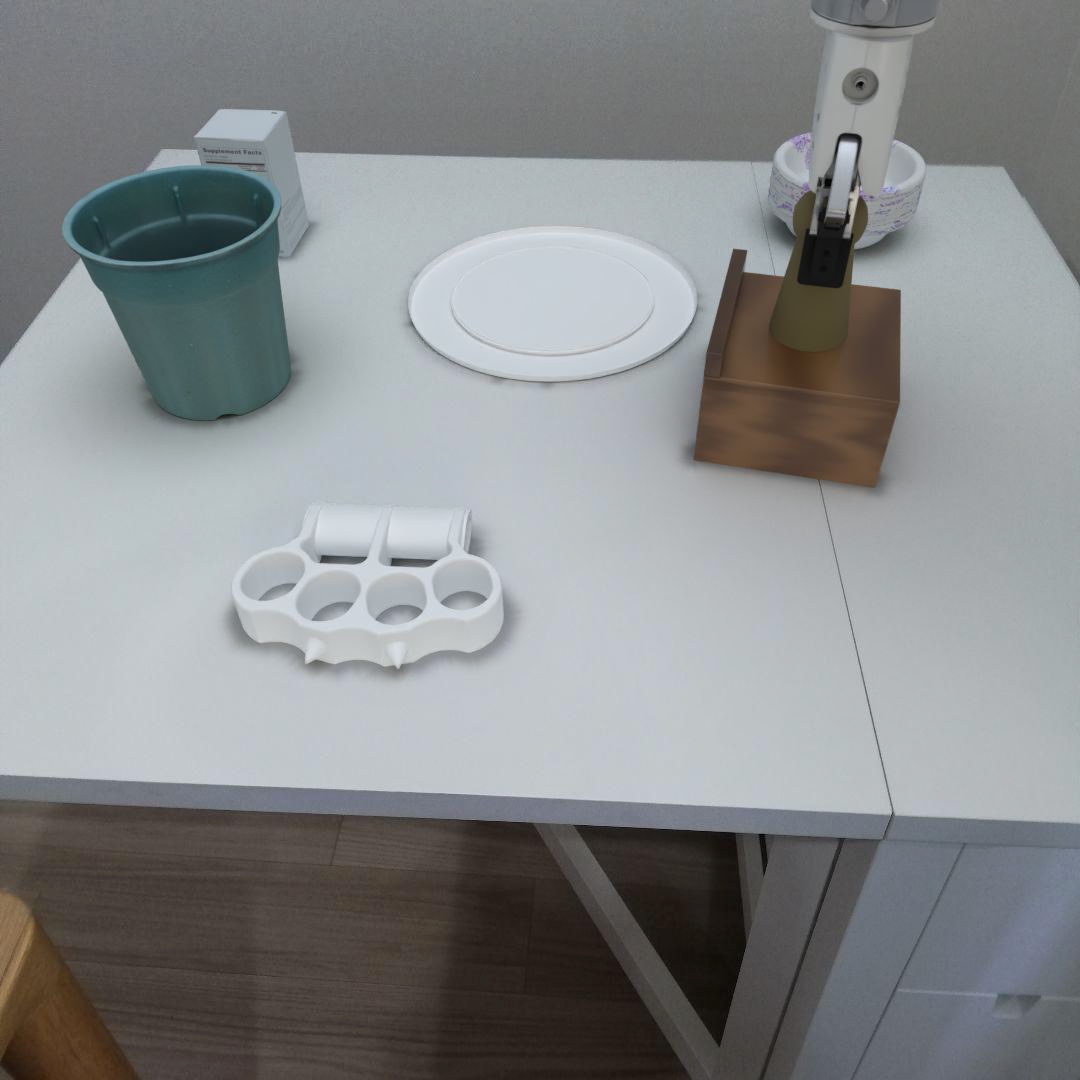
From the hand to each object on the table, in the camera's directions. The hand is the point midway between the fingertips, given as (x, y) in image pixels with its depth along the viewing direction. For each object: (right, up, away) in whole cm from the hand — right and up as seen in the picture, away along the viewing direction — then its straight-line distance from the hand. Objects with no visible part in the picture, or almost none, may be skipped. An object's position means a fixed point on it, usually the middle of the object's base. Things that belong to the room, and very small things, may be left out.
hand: (822, 261), depth 72 cm
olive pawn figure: (0, -4, +4) cm, 6 cm away
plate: (-20, +3, +24) cm, 31 cm away
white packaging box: (-50, +12, +34) cm, 61 cm away
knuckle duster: (-32, -25, -4) cm, 41 cm away
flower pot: (-49, -7, +15) cm, 52 cm away
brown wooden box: (0, -10, +10) cm, 14 cm away
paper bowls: (+11, +13, +33) cm, 37 cm away
